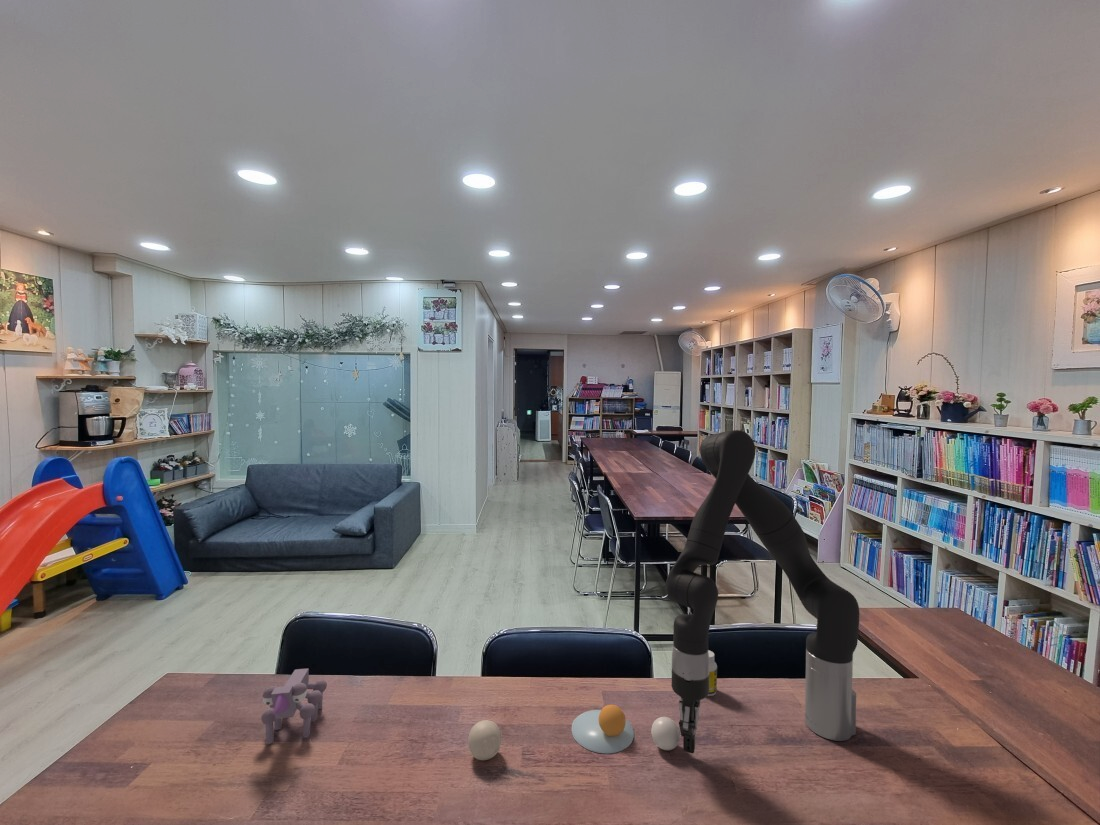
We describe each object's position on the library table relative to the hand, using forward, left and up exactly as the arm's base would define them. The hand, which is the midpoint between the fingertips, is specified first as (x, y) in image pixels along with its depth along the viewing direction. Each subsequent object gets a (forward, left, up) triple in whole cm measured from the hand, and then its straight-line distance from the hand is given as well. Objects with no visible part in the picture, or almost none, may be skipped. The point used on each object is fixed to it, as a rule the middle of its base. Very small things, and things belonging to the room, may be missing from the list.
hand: (689, 750), depth 98 cm
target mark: (+16, -9, -2) cm, 19 cm away
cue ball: (+4, -3, +2) cm, 5 cm away
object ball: (+14, -8, +2) cm, 17 cm away
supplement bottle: (-14, -22, -2) cm, 26 cm away
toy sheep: (+85, -14, -2) cm, 87 cm away
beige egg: (+42, -4, -2) cm, 43 cm away
